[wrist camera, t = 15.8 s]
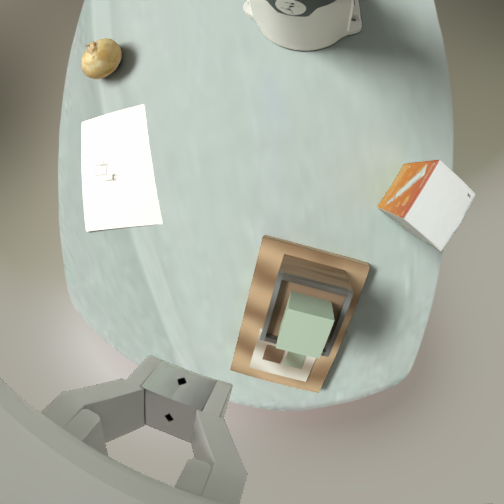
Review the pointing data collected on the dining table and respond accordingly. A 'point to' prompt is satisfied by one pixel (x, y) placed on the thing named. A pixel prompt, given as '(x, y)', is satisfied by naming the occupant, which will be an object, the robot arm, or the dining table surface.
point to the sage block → (305, 325)
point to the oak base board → (263, 302)
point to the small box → (428, 201)
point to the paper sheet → (118, 171)
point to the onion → (101, 58)
